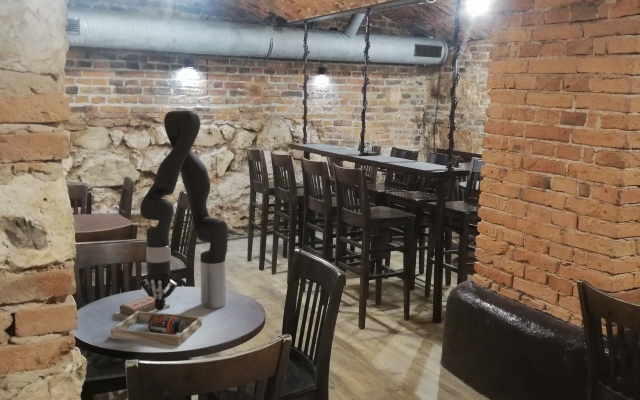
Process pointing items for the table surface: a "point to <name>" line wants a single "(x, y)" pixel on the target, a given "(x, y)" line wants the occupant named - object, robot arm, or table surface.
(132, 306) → the packaged product
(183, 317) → the wooden frame
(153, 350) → the table surface
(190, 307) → the table surface
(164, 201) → the robot arm
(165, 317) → the supplement bottle
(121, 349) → the table surface
